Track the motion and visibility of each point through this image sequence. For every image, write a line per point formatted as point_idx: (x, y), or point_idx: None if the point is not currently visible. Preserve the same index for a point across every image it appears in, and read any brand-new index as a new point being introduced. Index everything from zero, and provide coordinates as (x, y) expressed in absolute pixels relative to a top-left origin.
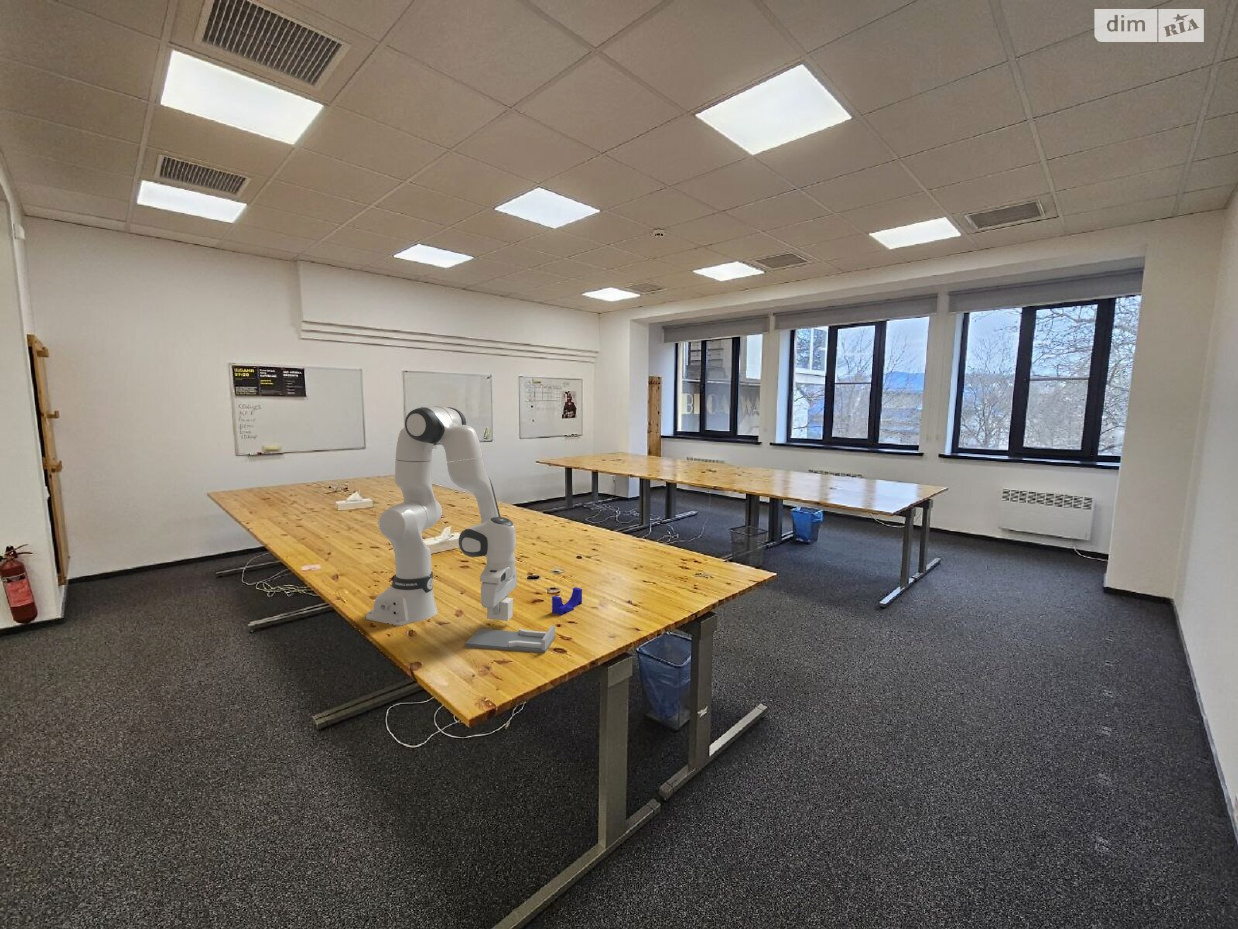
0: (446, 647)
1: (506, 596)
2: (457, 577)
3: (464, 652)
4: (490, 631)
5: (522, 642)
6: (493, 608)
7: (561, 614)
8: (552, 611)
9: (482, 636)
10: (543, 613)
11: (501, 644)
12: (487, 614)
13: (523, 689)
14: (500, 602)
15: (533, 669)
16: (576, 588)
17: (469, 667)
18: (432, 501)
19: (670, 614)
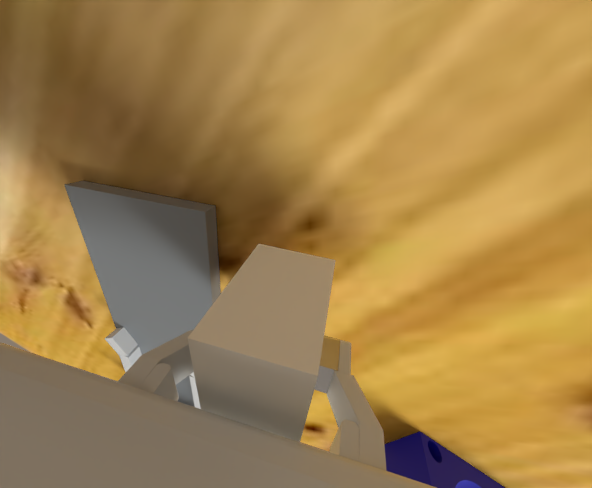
0: (39, 88)
1: (331, 447)
2: None
3: (54, 189)
4: (191, 262)
5: (124, 368)
6: (179, 342)
7: (385, 454)
8: (420, 441)
9: (139, 240)
10: (424, 411)
11: (119, 309)
12: (247, 260)
13: (25, 345)
14: (203, 407)
15: (87, 362)
16: None
17: (6, 233)
18: None
19: None
